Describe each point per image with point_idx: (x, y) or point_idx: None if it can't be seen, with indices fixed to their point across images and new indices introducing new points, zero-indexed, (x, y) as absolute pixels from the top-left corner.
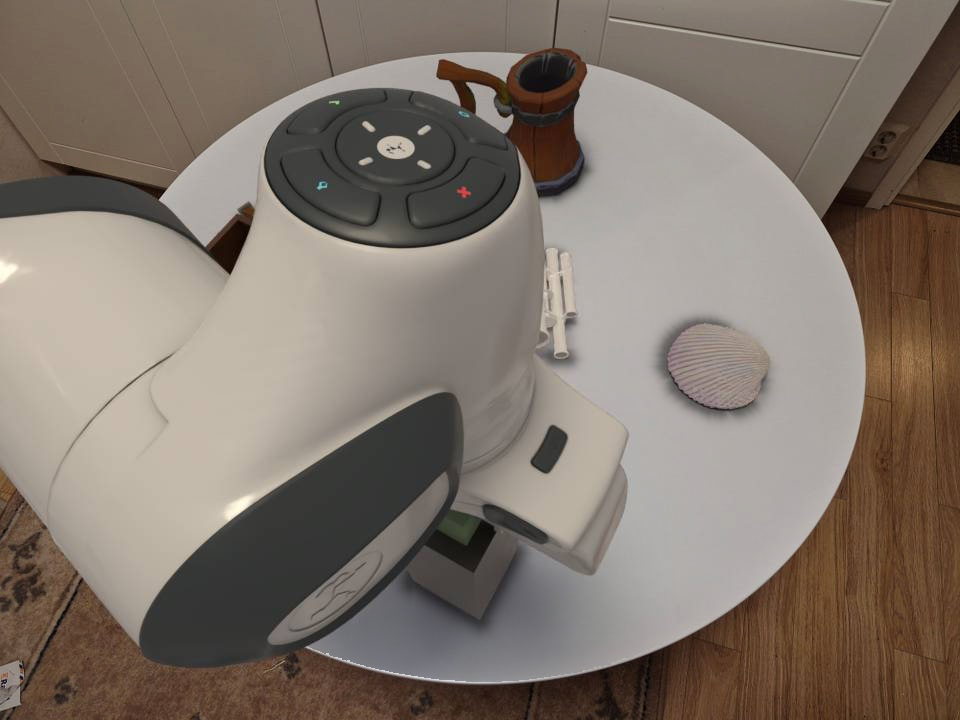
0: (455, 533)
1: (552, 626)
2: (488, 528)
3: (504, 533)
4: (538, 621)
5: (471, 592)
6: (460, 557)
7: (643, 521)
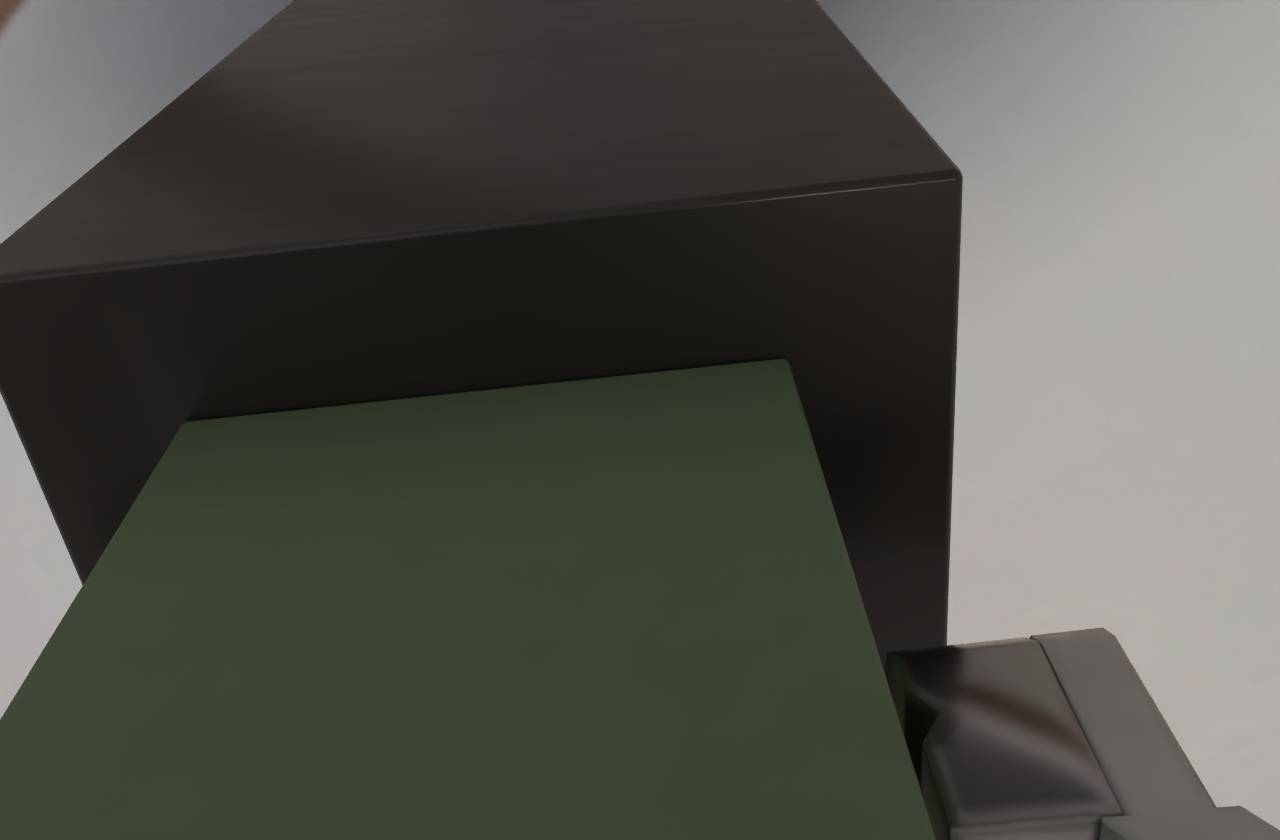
0: (205, 559)
1: (163, 74)
2: None
3: None
4: (215, 58)
5: (275, 37)
6: (146, 321)
7: None
